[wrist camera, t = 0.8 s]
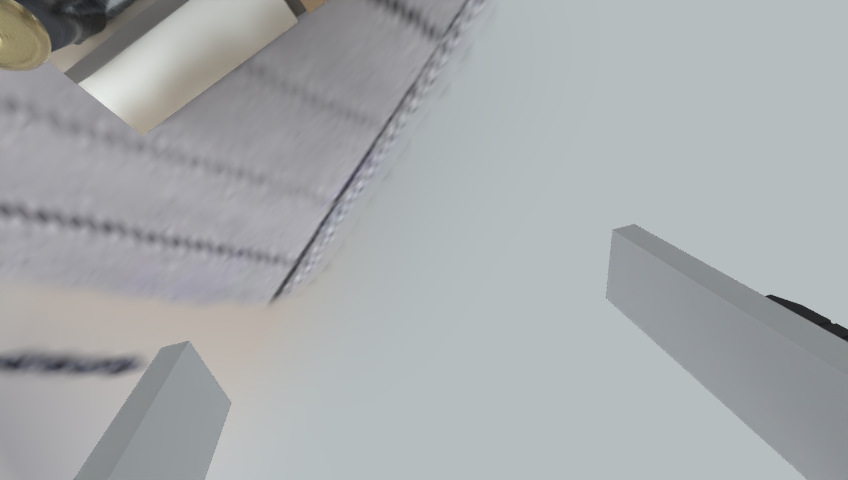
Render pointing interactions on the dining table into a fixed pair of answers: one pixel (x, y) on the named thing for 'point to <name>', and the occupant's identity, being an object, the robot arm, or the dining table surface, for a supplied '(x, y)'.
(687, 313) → the robot arm
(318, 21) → the dining table surface
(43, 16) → the bolt
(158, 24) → the door and jamb
